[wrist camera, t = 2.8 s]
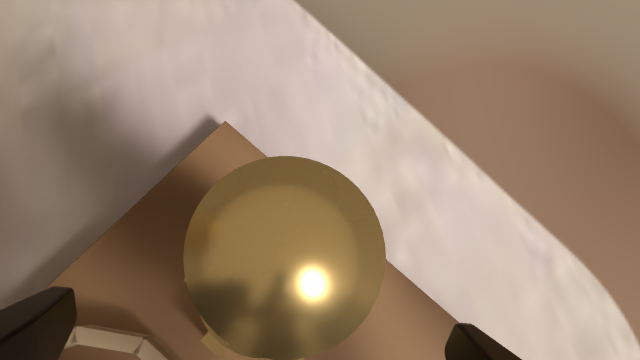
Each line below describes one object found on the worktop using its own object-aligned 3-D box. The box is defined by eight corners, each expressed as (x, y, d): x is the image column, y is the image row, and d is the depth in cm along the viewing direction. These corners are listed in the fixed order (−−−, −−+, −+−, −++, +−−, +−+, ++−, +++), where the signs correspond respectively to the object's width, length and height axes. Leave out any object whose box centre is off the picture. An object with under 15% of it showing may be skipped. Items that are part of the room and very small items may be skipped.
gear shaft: (267, 394, 18) (299, 548, 6) (161, 297, 18) (13, 277, 7) (360, 275, 20) (510, 229, 8) (263, 190, 20) (280, 38, 9)
